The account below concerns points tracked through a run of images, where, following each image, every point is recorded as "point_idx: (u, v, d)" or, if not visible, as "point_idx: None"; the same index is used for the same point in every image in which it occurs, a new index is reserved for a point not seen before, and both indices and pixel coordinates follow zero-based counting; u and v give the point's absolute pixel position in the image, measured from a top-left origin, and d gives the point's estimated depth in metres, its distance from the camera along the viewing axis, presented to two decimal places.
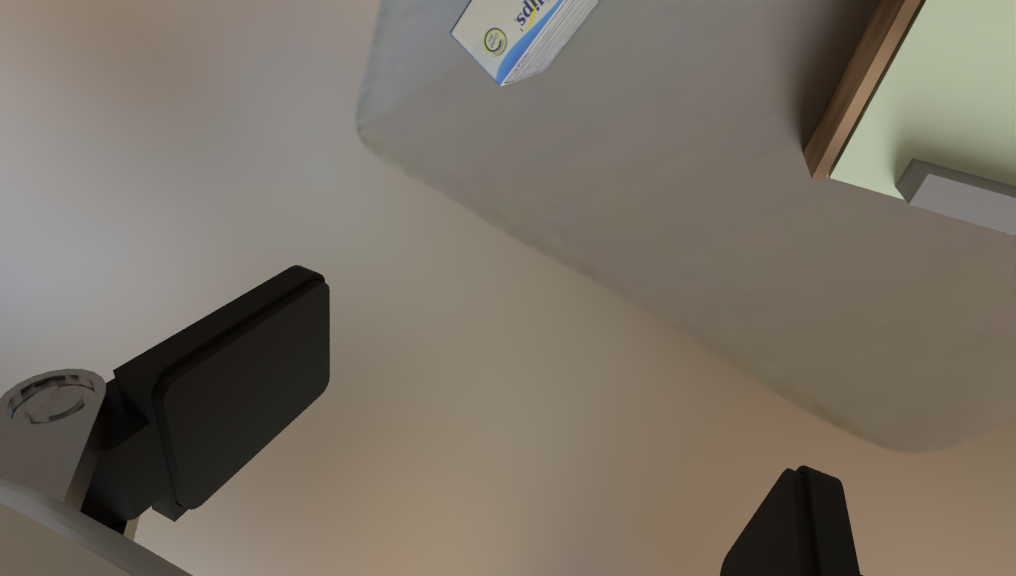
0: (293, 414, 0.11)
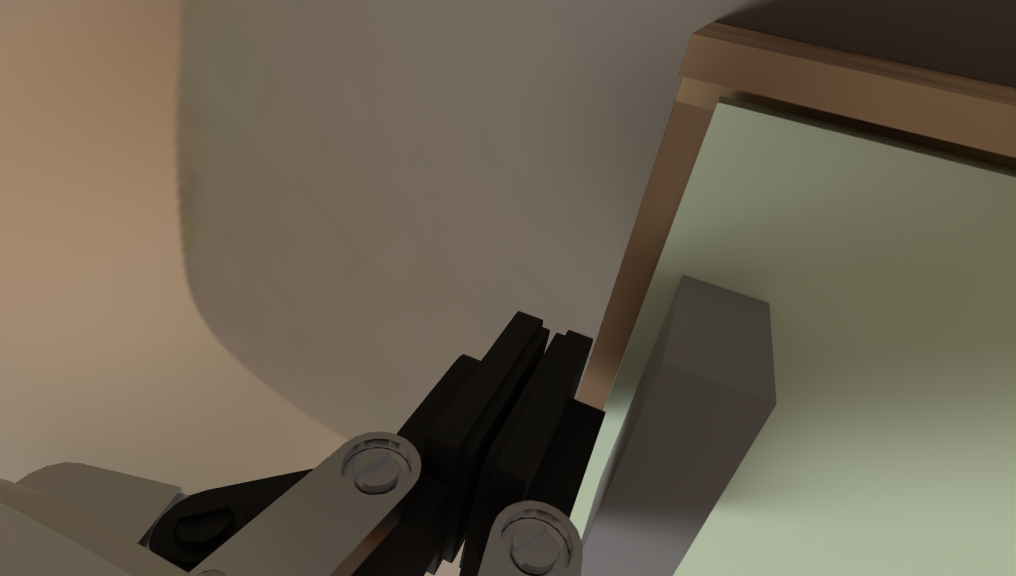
0: None
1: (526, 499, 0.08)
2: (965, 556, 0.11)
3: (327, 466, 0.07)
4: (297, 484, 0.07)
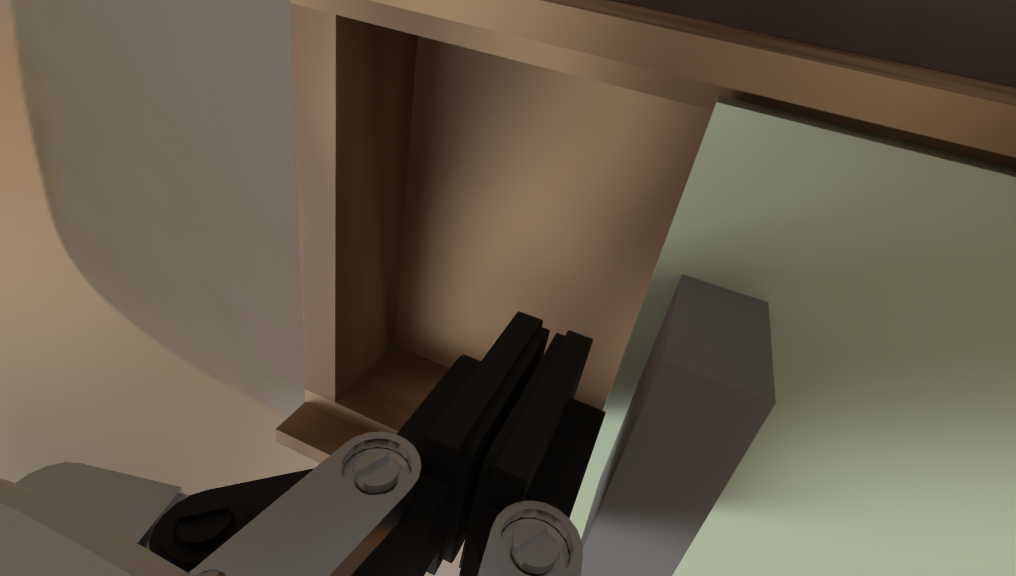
0: None
1: (526, 499, 0.08)
2: (965, 555, 0.11)
3: (327, 466, 0.07)
4: (296, 484, 0.07)
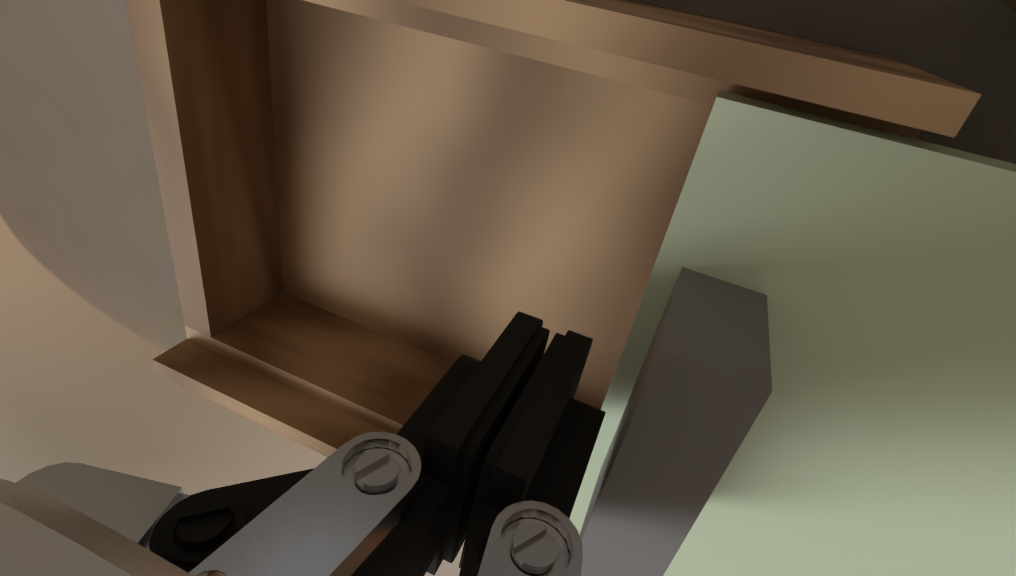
0: None
1: (526, 499, 0.08)
2: (960, 545, 0.11)
3: (327, 466, 0.07)
4: (296, 484, 0.07)
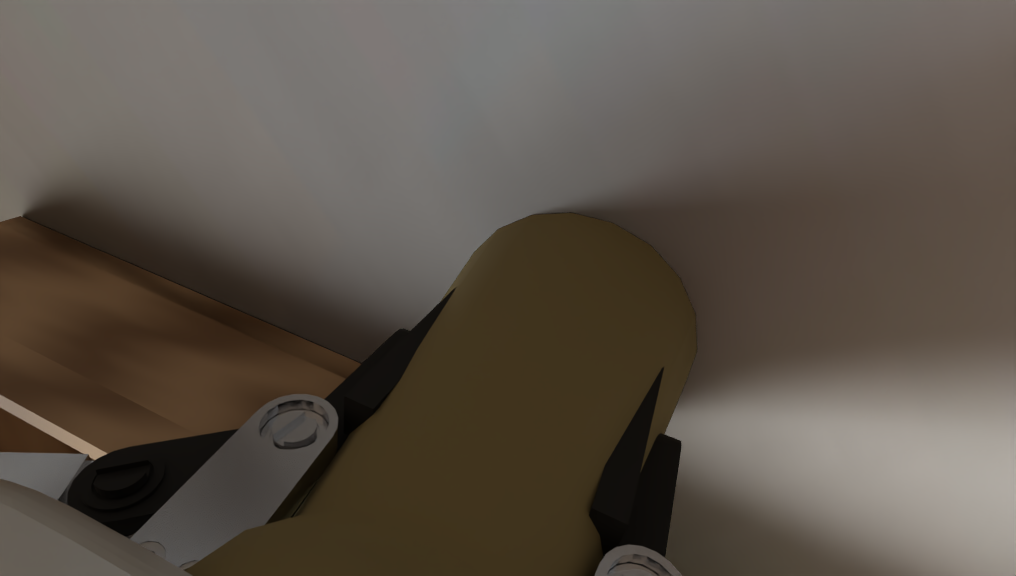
0: None
1: None
2: None
3: (244, 433, 0.07)
4: (215, 453, 0.07)
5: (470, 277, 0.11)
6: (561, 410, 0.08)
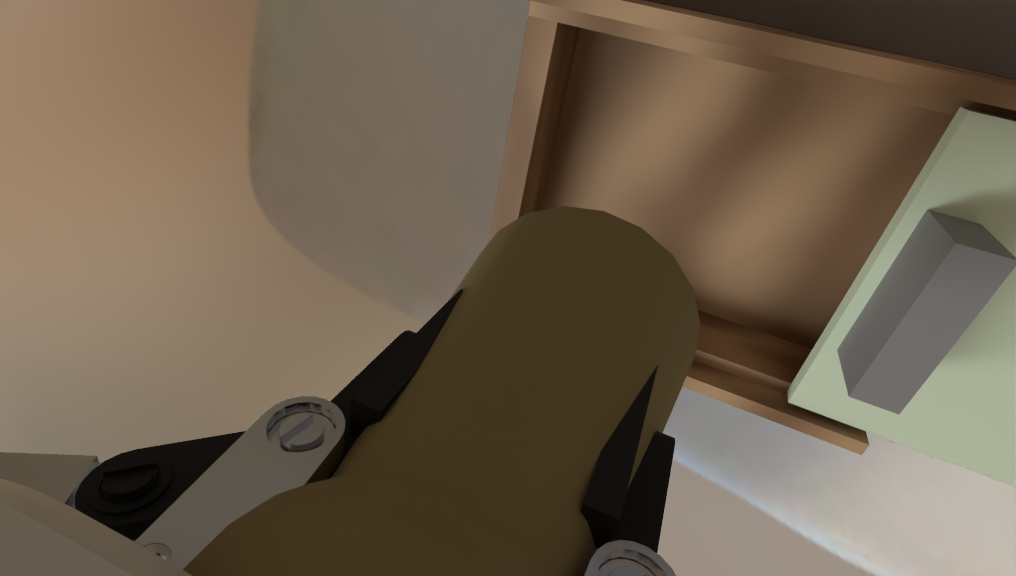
0: None
1: None
2: None
3: (251, 435, 0.07)
4: (223, 455, 0.07)
5: (502, 259, 0.11)
6: (594, 405, 0.08)
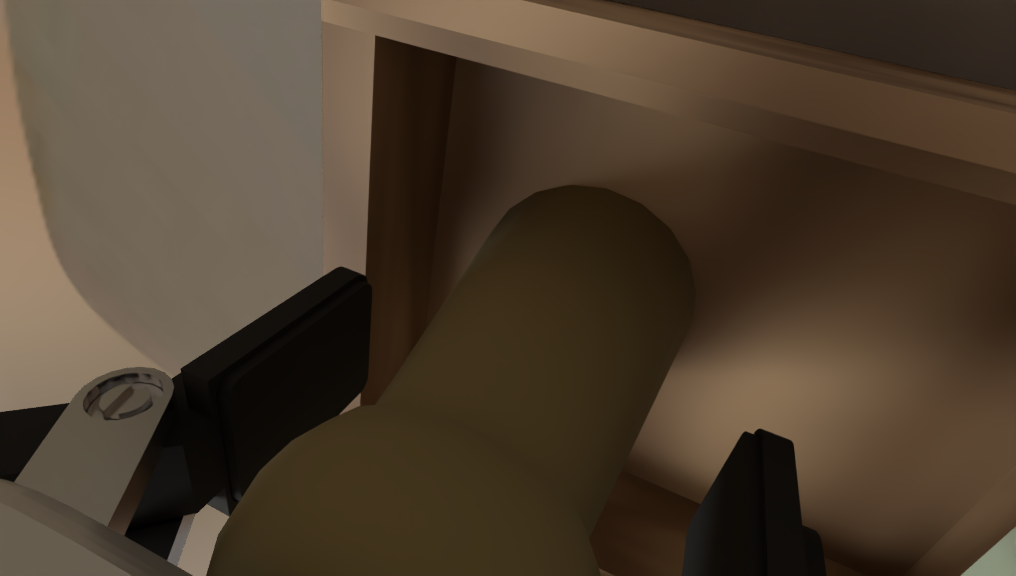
0: (336, 412, 0.11)
1: None
2: None
3: (68, 418, 0.07)
4: (42, 443, 0.07)
5: (515, 231, 0.12)
6: (601, 351, 0.09)
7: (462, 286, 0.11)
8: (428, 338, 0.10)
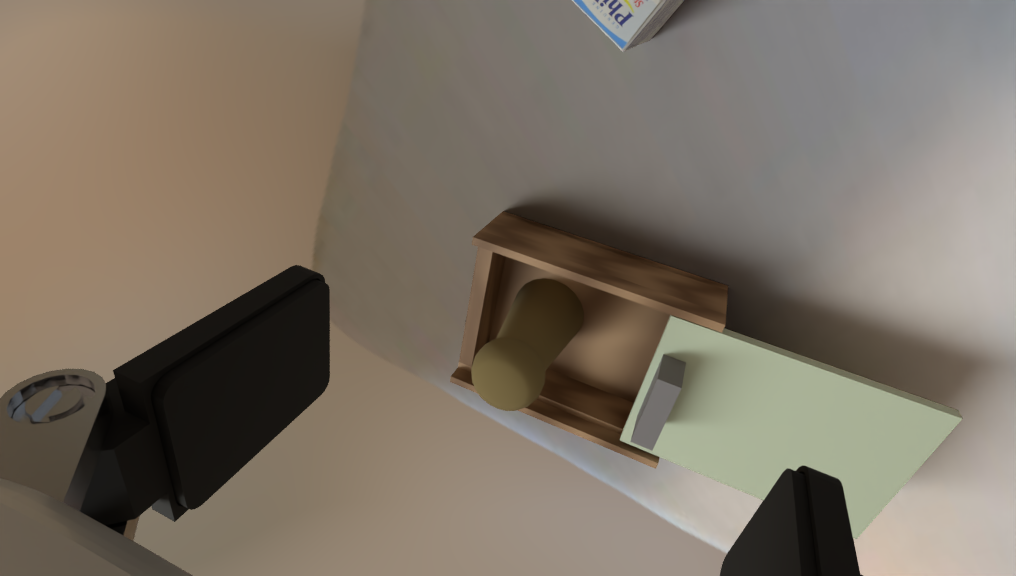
0: (293, 414, 0.11)
1: None
2: (742, 432, 0.38)
3: None
4: None
5: (527, 294, 0.42)
6: (548, 328, 0.39)
7: (513, 311, 0.41)
8: (506, 325, 0.40)
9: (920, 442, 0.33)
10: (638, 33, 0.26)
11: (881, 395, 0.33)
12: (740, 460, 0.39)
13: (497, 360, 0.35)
